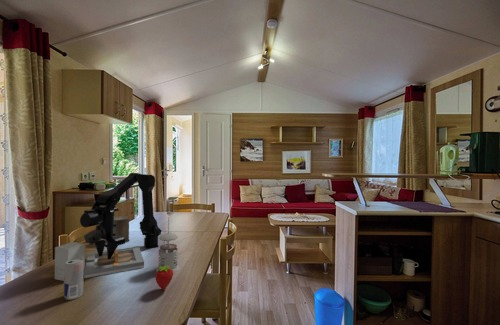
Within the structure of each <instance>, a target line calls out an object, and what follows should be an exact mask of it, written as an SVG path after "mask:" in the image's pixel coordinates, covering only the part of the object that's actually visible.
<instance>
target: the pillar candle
mask: <svg viewBox="0 0 500 325" xmlns="http://www.w3.org/2000/svg"><path fill="white" fill-rule="evenodd" d="M114 224H116V227H114V230H113V233H116V234H115V236H113V237H116V236H121V237H124V238H125V239H126V241H125V243H128V242H129V241H130V217H129V216H126V215H123V216H122V215H119V216H114Z"/></svg>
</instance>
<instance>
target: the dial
mask: <svg viewBox="0 0 500 325" xmlns="http://www.w3.org/2000/svg"><path fill="white" fill-rule="evenodd" d="M117 250H118V249H116V251H115V252H114V253H113V255H112V257H111V259H108V258H107V255H104V256H102V257H100V258H98V260H97V264H98V265H99V266H105V265H111V264H114V263H123V262H129V261H131V260H132V254H130V253H127V252H118V251H117Z"/></svg>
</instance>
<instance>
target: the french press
mask: <svg viewBox="0 0 500 325" xmlns="http://www.w3.org/2000/svg"><path fill="white" fill-rule="evenodd" d="M166 215H172V211H170V210H169V211H166ZM167 220H168V222H167V223H168V224H167V226H168V227H167V228H168V230H167V231H168V232H167V233H163V234H161V235H159V236H158V240H159V241H163V242H167V243H163V244H162V245H159V250H158V267H157V268H156V269H155V271H156V273H157V272H158V270H160V269H158V268H160V267H163V266H165V265H166V266H170V267H169V268H171V269H172V270H173V273H175V272H177V271H179V269H180V266H179V265H178V248H177V247H178V246H177V244H176V243H170V242H169V241H171V242H172V241H174V240H177V239H178V238H179V236H178V235H177V234H176V233H171V232H170V218H168V219H167Z"/></svg>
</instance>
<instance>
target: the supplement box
mask: <svg viewBox="0 0 500 325" xmlns="http://www.w3.org/2000/svg"><path fill="white" fill-rule="evenodd" d="M77 258H80V259H83V262H84V270H83V276H84V271H85V266H86V243H83V242H82V243H81V242H76V241H75V242H74V241H71V242H68V243H65V244H61V245H59V246H56V247H54V280H58V281H62V282H64V270H65V263H66V261H68V260H71V259H77Z"/></svg>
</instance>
